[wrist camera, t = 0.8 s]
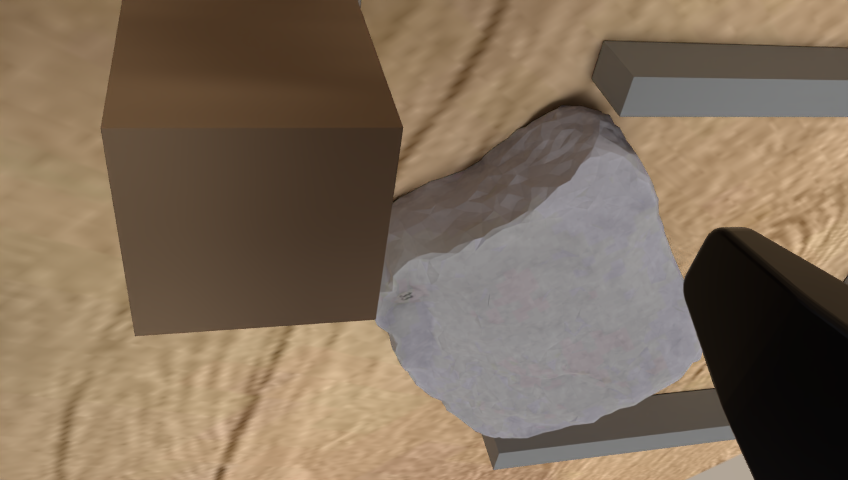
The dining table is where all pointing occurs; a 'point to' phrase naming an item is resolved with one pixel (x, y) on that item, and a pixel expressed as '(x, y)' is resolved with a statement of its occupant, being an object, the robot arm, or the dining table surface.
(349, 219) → the block
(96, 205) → the dining table surface
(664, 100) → the frame
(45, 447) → the dining table surface
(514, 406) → the stone block
